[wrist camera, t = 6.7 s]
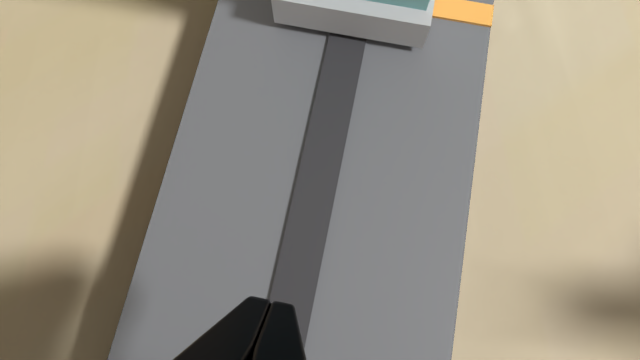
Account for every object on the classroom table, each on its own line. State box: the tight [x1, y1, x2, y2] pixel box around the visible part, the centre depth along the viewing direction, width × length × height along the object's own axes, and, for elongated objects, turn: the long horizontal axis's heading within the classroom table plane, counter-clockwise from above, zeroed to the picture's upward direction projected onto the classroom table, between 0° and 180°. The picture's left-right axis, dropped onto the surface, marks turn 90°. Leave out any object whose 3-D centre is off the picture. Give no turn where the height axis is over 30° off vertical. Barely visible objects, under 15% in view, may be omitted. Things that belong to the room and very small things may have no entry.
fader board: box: [107, 0, 494, 360], centre depth 16 cm, size 16×9×2 cm, turn 169°
